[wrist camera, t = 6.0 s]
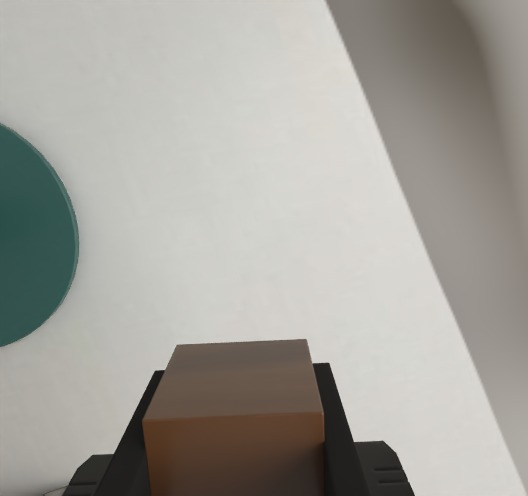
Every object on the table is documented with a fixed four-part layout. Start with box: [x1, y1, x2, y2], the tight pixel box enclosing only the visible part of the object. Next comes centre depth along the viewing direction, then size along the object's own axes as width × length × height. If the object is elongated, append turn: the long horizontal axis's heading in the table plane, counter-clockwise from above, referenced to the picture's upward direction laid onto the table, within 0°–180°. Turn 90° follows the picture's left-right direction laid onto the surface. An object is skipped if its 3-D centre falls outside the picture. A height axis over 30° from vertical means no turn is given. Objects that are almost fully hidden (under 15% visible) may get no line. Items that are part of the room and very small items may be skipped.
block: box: [142, 339, 325, 496], centre depth 14 cm, size 4×4×4 cm
